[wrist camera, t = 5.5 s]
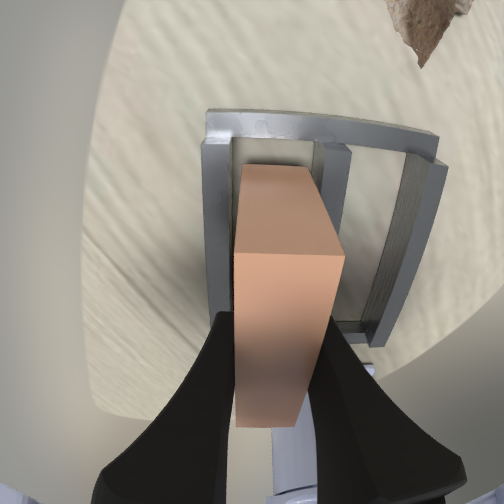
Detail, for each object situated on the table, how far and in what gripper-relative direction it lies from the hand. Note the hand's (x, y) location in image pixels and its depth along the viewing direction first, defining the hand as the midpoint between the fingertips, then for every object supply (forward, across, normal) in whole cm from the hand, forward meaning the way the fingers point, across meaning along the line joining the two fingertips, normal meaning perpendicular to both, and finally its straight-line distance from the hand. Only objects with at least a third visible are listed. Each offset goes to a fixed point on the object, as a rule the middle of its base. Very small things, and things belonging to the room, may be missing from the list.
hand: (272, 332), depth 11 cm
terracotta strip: (+4, 0, 0) cm, 4 cm away
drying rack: (+6, -2, 0) cm, 6 cm away
